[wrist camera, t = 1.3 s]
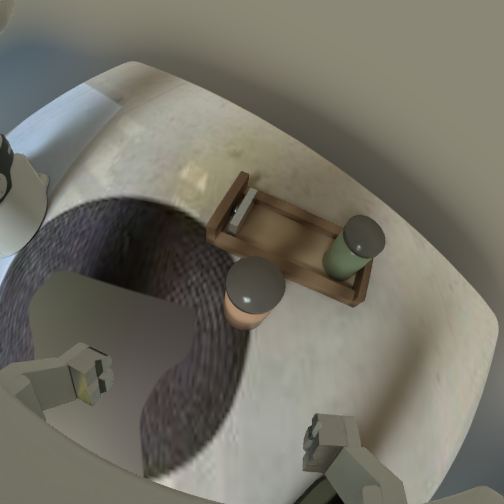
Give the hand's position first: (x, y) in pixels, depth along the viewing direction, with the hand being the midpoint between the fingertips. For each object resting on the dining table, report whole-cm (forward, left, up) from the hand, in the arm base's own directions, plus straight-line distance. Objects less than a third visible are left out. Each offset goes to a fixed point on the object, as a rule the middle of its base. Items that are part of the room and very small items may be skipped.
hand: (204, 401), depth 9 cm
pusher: (-6, +21, -20) cm, 30 cm away
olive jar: (+9, +21, -20) cm, 31 cm away
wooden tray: (+2, +21, -21) cm, 30 cm away
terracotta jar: (0, +10, -21) cm, 23 cm away
